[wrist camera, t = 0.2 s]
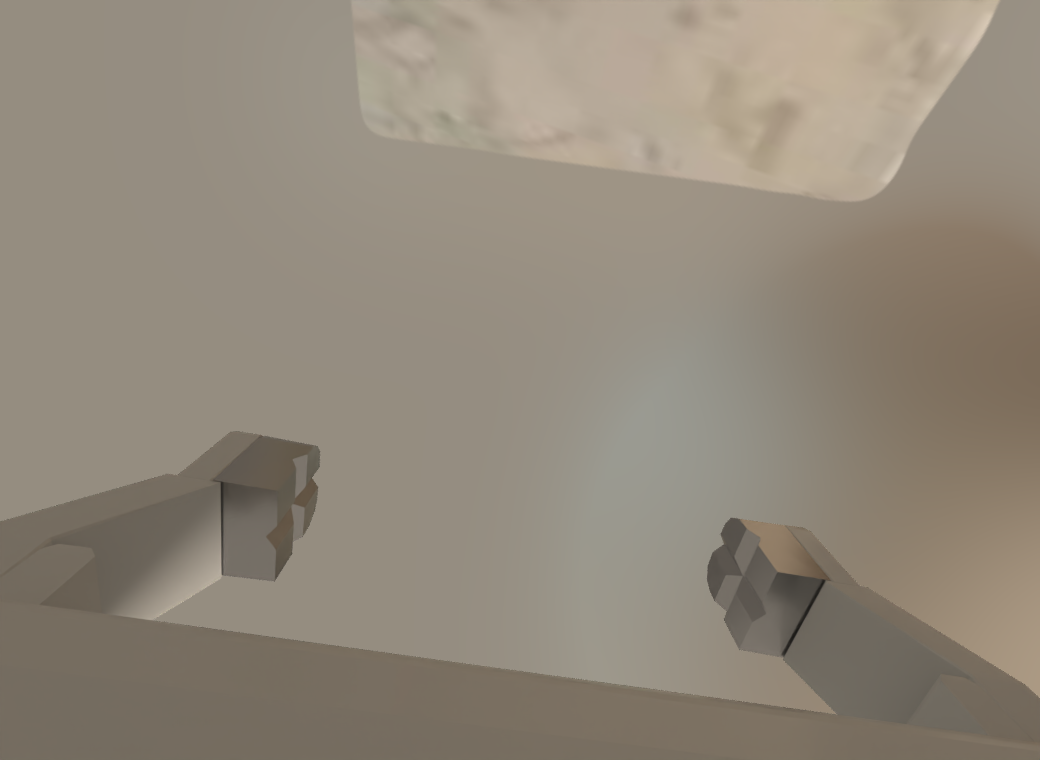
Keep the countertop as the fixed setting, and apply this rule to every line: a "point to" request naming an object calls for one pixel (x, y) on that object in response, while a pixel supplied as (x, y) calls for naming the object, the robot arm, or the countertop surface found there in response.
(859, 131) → the countertop surface
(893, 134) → the countertop surface
